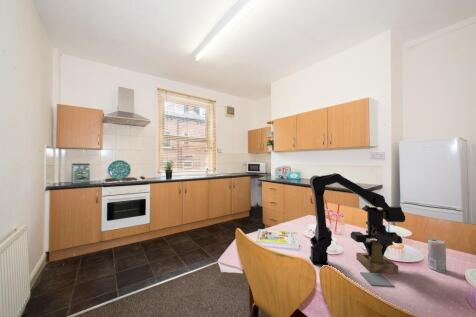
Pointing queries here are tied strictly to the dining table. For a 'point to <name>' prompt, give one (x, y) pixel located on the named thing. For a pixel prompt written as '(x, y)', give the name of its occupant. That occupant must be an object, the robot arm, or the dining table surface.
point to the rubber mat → (376, 279)
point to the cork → (376, 252)
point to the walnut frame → (377, 264)
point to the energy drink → (437, 255)
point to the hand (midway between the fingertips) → (375, 256)
